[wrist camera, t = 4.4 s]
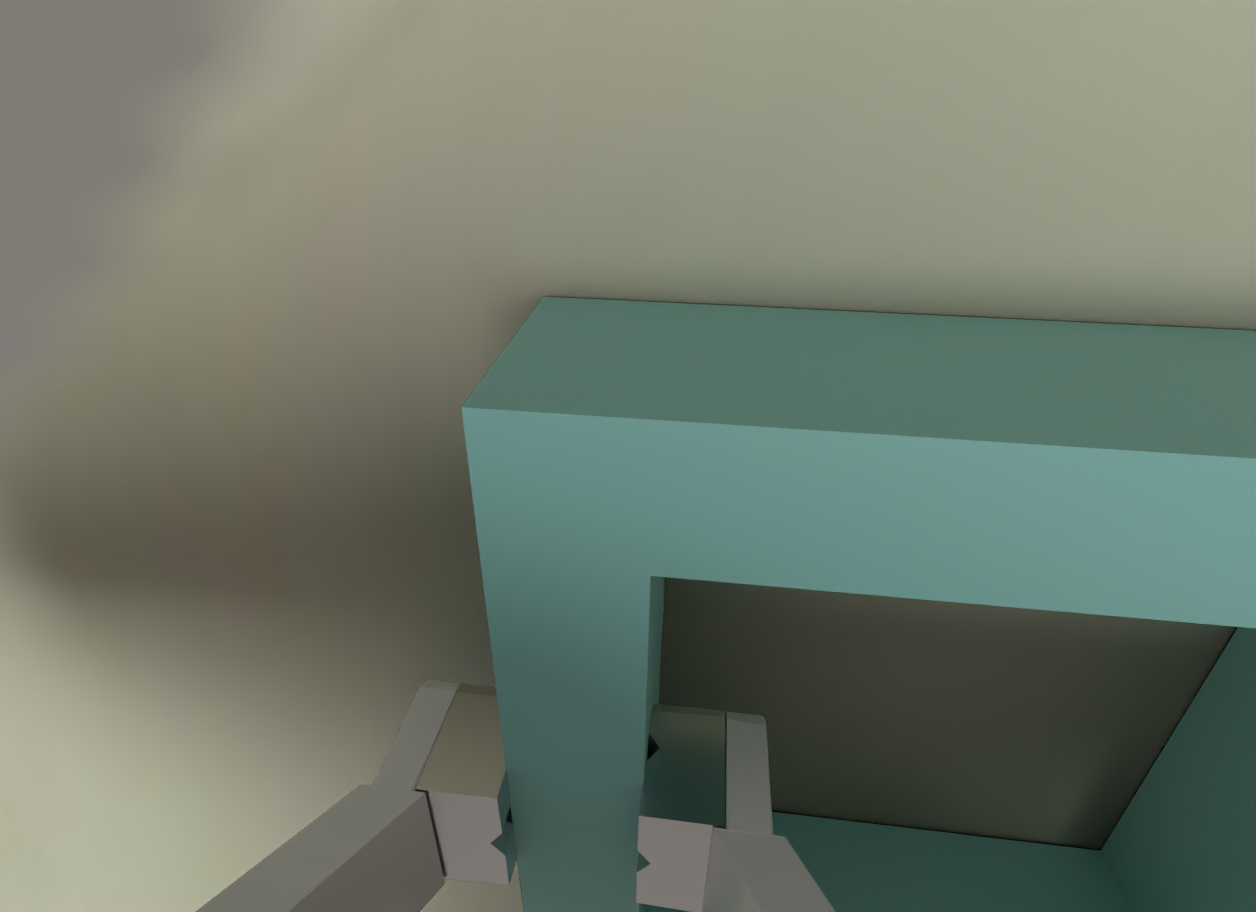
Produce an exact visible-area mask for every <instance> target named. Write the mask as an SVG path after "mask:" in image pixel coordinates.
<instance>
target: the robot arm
mask: <svg viewBox="0 0 1256 912" xmlns="http://www.w3.org/2000/svg"><path fill="white" fill-rule="evenodd" d="M510 805H511V798H510V790H509V783H508V776H507V768H506V766H505V758H504V750H503V742H502V734H501V726H500V718H499V709H498V701H497V693H496V688H494V687H486V686H479V685H471V684H464V683H454V682H446V681H438V680H429V679H428V680H427V681H426V682H425V683H424V684H423V685H422V686H421V687H420V688H419V690H418V692H417V694H416V696H415V698H414V700H413V702H412V704H411V706H410V708H409V710H408V712H407V714H406V716H405V718H404V720H403V723H402V725H401V727H400V729H399V731H398V733H397V735H396V737H395V739H394V741H393V743H392V745H391V747H390V749H389V751H388V753H387V755H386V757H385V760H384V762H383V764H382V766H381V768H380V770H379V772H378V774H377V776H376V778H375V780H374V782H373V784H372V785H362V784H361V785H360V786H358V787H357V788H356V789H354V790H353V791H352V792H351V793H349V794H348V795H347V796H345V797H344V798H343V799H341V800H340V801H339V802H338V803H336V804H335V805H334V806H332V807H331V808H330V809H328V810H327V811H326V812H325V813H323V814H322V815H321V816H319V817H318V818H317V819H315V820H314V821H313V822H311V823H310V824H309V825H308V826H306V827H305V828H304V829H302V830H301V831H300V832H298V833H297V834H296V835H295V836H293V837H292V838H291V839H289V840H288V841H287V842H285V843H284V844H283V845H282V846H280V847H279V848H278V849H276V850H275V851H274V852H272V853H271V854H270V855H269V856H267V857H266V858H265V859H263V860H262V861H261V862H259V863H258V864H257V865H256V866H254V867H253V868H252V869H250V870H249V871H248V872H246V873H245V874H244V875H243V876H241V877H240V878H239V879H237V880H236V881H235V882H233V883H232V884H231V885H230V886H228V887H227V888H226V889H224V890H223V891H222V892H220V893H219V894H218V895H216V896H215V897H214V898H213V899H211V900H210V901H209V902H207V903H206V904H205V905H203V906H202V907H201V908H200V909H198V910H197V911H196V912H420V911H421V909H422V908H423V907H424V906H425V905H426V904H427V903H428V902H429V901H430V899H431V898H432V897H433V896H434V895H435V894H436V893H437V892H438V890H439V889H440V888H441V887H442V886H443V885H444V884H445V881H444V879H452V880H461V881H471V882H481V883H490V884H500V885H509V884H510V880H511V876H512V872H513V869H514V865H515V861H516V857H517V849H516V840H515V831H514V824H513V823H512V815H511V807H510ZM637 850H638V851H639V855H638V864H637V885H636V903H641V904H647V905H653V906H660V907H666V908H672V909H678V910H684V911H690V912H836V911H835V910H834V908H833V907H832V905H831V904H830V902H829V901H828V899H827V898H826V896H825V895H824V893H823V892H822V891H821V889H820V888H819V886H818V885H817V883H816V882H815V880H814V879H813V877H812V876H811V874H810V873H809V871H808V870H807V868H806V867H805V865H804V864H803V862H802V861H801V859H800V858H799V856H798V855H797V853H796V852H795V850H794V849H793V847H792V846H791V844H790V843H789V841H788V840H787V838H786V837H785V836H779V835H773V824H772V808H771V792H770V776H769V760H768V744H767V728H766V721H765V719H764V717H763V715H754V714H745V713H735V712H726V713H725V712H724V710H713V709H702V708H691V707H680V706H669V705H658V704H653V706H652V711H651V720H650V729H649V747H648V760H647V761H646V764H645V773H644V782H643V784H642V790H641V800H640V809H639V822H638V846H637Z"/></svg>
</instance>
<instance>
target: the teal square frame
mask: <svg viewBox="0 0 1256 912" xmlns="http://www.w3.org/2000/svg"><path fill="white" fill-rule="evenodd" d="M461 409H462V418H463V426H464V434H465V442H466V450H467V458H468V466H469V474H470V482H471V491H472V499H473V507H474V515H475V523H476V531H477V539H478V547H479V555H480V563H481V572H482V580H483V588H484V596H485V604H486V612H487V620H488V628H489V636H490V645H491V653H492V661H493V669H494V677H495V685H496V693H497V701H498V709H499V718H500V726H501V734H502V742H503V750H504V758H505V766H506V768H507V776H508V783H509V790H510V798H511V805H510V807H511V815H512V823H513V824H514V831H515V840H516V849H517V863H518V872H519V880H520V888H521V896H522V904H523V912H690V911H684V910H678V909H672V908H666V907H660V906H653V905H647V904H641V903H636V885H637V864H638V855H639V851H638V850H637V846H638V822H639V809H640V800H641V790H642V784H643V782H644V773H645V764H646V761H647V760H648V747H649V729H650V720H651V711H652V706H653V704H658V705H659V687H660V666H661V645H662V624H663V603H664V582H665V577H670V578H681V579H693V580H704V581H716V582H727V583H739V584H750V585H762V586H773V587H785V588H796V589H808V590H819V591H831V592H842V593H854V594H865V595H877V596H888V597H900V598H911V599H923V600H934V601H946V602H957V603H969V604H980V605H992V606H1003V607H1015V608H1026V609H1038V610H1049V611H1061V612H1072V613H1084V614H1095V615H1107V616H1118V617H1130V618H1141V619H1153V620H1164V621H1176V622H1187V623H1199V624H1210V625H1222V626H1233V627H1238V628H1237V630H1236V631H1235V633H1234V635H1233V636H1232V638H1231V640H1230V641H1229V643H1228V644H1227V646H1226V648H1225V649H1224V651H1223V653H1222V654H1221V656H1220V658H1219V659H1218V661H1217V662H1216V664H1215V666H1214V667H1213V669H1212V671H1211V672H1210V674H1209V675H1208V677H1207V679H1206V680H1205V682H1204V684H1203V685H1202V687H1201V688H1200V690H1199V692H1198V693H1197V695H1196V697H1195V698H1194V700H1193V701H1192V703H1191V705H1190V706H1189V708H1188V710H1187V711H1186V713H1185V714H1184V716H1183V718H1182V719H1181V721H1180V723H1179V724H1178V726H1177V727H1176V729H1175V731H1174V732H1173V734H1172V736H1171V737H1170V739H1169V740H1168V742H1167V744H1166V745H1165V747H1164V749H1163V750H1162V752H1161V753H1160V755H1159V757H1158V758H1157V760H1156V762H1155V763H1154V765H1153V767H1152V768H1151V770H1150V771H1149V773H1148V775H1147V776H1146V778H1145V780H1144V781H1143V783H1142V784H1141V786H1140V788H1139V789H1138V791H1137V793H1136V794H1135V796H1134V797H1133V799H1132V801H1131V802H1130V804H1129V806H1128V807H1127V809H1126V810H1125V812H1124V814H1123V815H1122V817H1121V819H1120V820H1119V822H1118V823H1117V825H1116V827H1115V828H1114V830H1113V832H1112V833H1111V835H1110V836H1109V838H1108V840H1107V841H1106V843H1105V845H1104V846H1103V848H1102V849H1101V851H1098V850H1089V849H1081V848H1073V847H1064V846H1056V845H1047V844H1039V843H1030V842H1022V841H1013V840H1005V839H997V838H988V837H980V836H971V835H963V834H954V833H946V832H938V831H929V830H921V829H912V828H904V827H895V826H887V825H878V824H870V823H862V822H853V821H845V820H836V819H828V818H819V817H811V816H803V815H794V814H786V813H777V812H772V824H773V835H779V836H785V837H786V838H787V840H788V841H789V843H790V844H791V846H792V847H793V849H794V850H795V852H796V853H797V855H798V856H799V858H800V859H801V861H802V862H803V864H804V865H805V867H806V868H807V870H808V871H809V873H810V874H811V876H812V877H813V879H814V880H815V882H816V883H817V885H818V886H819V888H820V889H821V891H822V892H823V893H824V895H825V896H826V898H827V899H828V901H829V902H830V904H831V905H832V907H833V908H834V910H835V911H836V912H1256V331H1252V330H1231V329H1210V328H1189V327H1169V326H1148V325H1127V324H1106V323H1085V322H1064V321H1043V320H1022V319H1001V318H980V317H959V316H938V315H918V314H897V313H876V312H855V311H834V310H813V309H792V308H771V307H750V306H729V305H708V304H687V303H666V302H646V301H625V300H604V299H583V298H562V297H543V298H542V299H541V301H540V302H539V303H538V305H537V306H536V307H535V309H534V310H533V311H532V313H531V314H530V315H529V317H528V318H527V320H526V321H525V322H524V324H523V325H522V326H521V328H520V329H519V330H518V332H517V333H516V334H515V336H514V337H513V338H512V340H511V341H510V342H509V344H508V345H507V346H506V348H505V349H504V350H503V352H502V353H501V355H500V356H499V357H498V359H497V360H496V361H495V363H494V364H493V365H492V367H491V368H490V369H489V371H488V372H487V373H486V375H485V376H484V377H483V379H482V380H481V381H480V383H479V384H478V385H477V387H476V388H475V389H474V391H473V392H472V394H471V395H470V396H469V398H468V399H467V400H466V402H465V403H464V404H463V406H462V407H461Z"/></svg>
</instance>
